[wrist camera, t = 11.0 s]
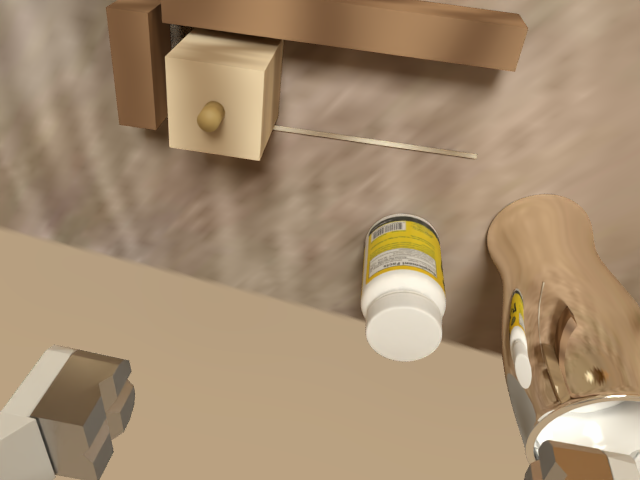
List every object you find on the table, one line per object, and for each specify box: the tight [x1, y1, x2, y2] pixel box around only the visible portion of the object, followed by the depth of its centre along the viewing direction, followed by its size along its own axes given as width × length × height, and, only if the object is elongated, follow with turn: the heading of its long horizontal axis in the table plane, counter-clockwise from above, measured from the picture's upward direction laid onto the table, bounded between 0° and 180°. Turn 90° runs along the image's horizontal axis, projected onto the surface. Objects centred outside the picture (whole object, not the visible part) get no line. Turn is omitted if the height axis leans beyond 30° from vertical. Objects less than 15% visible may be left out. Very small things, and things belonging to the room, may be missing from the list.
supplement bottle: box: [361, 214, 446, 362], centre depth 33 cm, size 5×5×8 cm
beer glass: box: [487, 194, 640, 475], centre depth 29 cm, size 7×7×15 cm
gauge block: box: [165, 27, 284, 161], centre depth 28 cm, size 4×4×7 cm
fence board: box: [106, 0, 528, 159], centre depth 29 cm, size 20×8×3 cm, turn 85°
